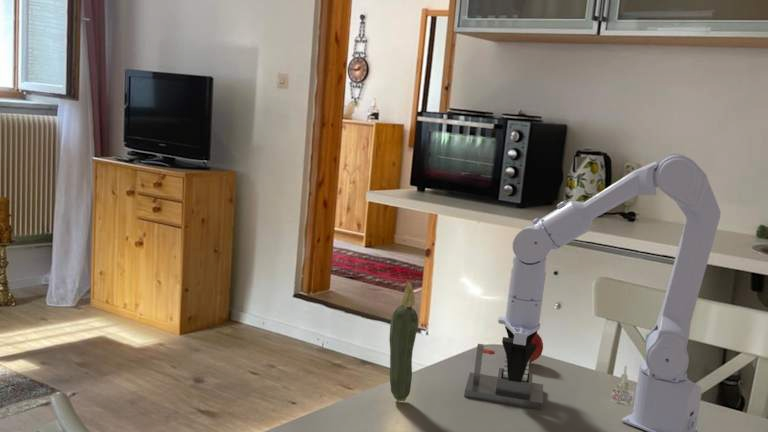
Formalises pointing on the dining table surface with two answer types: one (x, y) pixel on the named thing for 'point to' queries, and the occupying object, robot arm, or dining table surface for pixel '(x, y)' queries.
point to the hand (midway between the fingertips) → (515, 373)
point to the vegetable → (402, 345)
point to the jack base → (502, 386)
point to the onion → (538, 350)
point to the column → (505, 374)
